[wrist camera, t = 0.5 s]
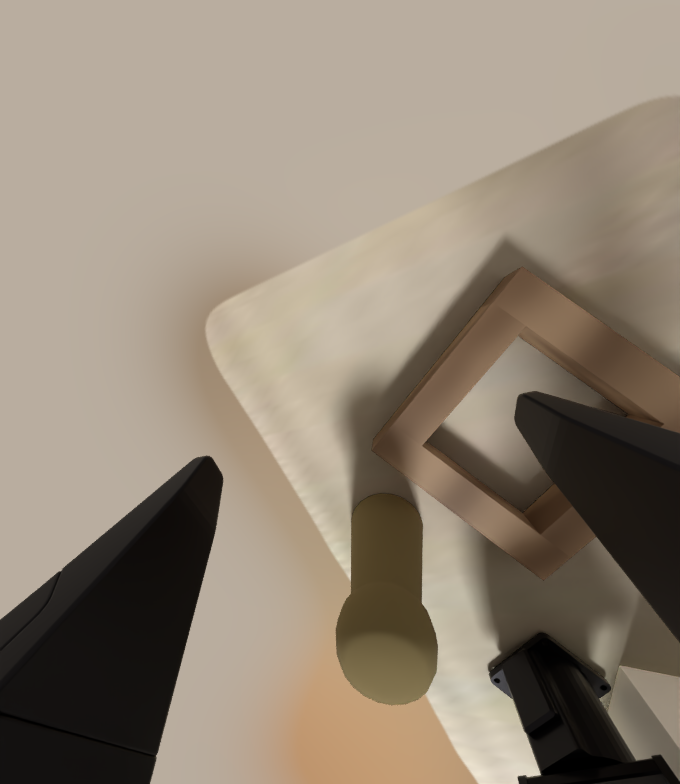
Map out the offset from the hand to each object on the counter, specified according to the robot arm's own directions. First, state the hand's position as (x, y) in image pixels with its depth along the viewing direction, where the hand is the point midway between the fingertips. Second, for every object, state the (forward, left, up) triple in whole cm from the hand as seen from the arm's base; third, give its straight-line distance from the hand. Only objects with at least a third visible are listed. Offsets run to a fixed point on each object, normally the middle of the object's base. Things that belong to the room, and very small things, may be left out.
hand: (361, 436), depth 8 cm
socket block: (-10, -3, -14) cm, 17 cm away
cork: (-8, +10, -14) cm, 19 cm away
